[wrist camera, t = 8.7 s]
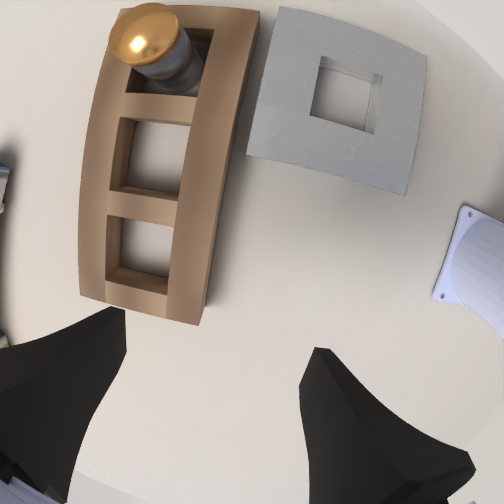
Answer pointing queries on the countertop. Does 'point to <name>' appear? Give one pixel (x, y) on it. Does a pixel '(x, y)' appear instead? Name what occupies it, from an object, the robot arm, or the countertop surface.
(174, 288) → the rack
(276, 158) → the socket block
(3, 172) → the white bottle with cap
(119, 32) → the steel peg
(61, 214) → the countertop surface
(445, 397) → the countertop surface
